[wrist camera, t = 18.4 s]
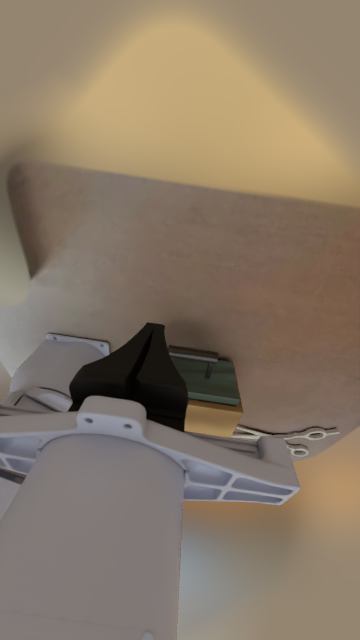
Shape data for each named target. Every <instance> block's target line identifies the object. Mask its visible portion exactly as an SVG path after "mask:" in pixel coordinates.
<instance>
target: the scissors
mask: <svg viewBox="0 0 360 640" xmlns="http://www.w3.org/2000/svg"><path fill="white" fill-rule="evenodd" d="M236 428H238V429H241V430H243V431H247V432H250V433H252V434H255V435H259V436H231V437H238V438H249V439H259V438H260V437H261V436H273V437H280V438H283V439H284V440H287V439H292V438H297V437H303V438H308V439H309V440H318V439H322V438H324V437H326V436H327V435H331V434H339V431H338V429H331V430H324V429H321V428H311V429H308V430H306V431H304V432H301V433H292V434H289V435H271V434H265V433H261V432H257V431H253V430H249V429H245V428H241V427H237V426H236ZM312 433H321V434H319V435H310V434H312ZM285 443H286V442H285ZM286 446H287V448H288V449H290V451H291V453H292V454H293V455H295V456H306V455H308V454H309V452H308V449H307V448H306V447H304V446H302V445H297V446H293V445H289V444H287V443H286ZM296 450H302V451H303V452H294V451H296Z"/></svg>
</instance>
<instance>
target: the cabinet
mask: <svg viewBox="0 0 360 640" xmlns="http://www.w3.org/2000/svg"><path fill="white" fill-rule="evenodd" d="M233 365H234V364H233ZM234 371H235V368H234ZM235 376H236V373H235ZM236 381H237V378H236ZM237 386H238V383H237ZM238 391H239V388H238ZM239 397H240V393H239ZM242 415H243V409H242V404H241V398H240V401H239V403H238V405H230V404H228V405H223V404H216V403H209V402H203V401H196V400H190V399H189V402H188V406H187V410H186V418H185V428H184V431H188V432H194V433H201V434H208V435H214V436H221V437H228V438H230V437H231V435H232V434H233V432H234V430H235V428H236V426H237V424H238V422H239V420H240V419H241V417H242Z"/></svg>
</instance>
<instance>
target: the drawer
mask: <svg viewBox="0 0 360 640" xmlns="http://www.w3.org/2000/svg"><path fill="white" fill-rule="evenodd" d="M168 352H169V355H170V357H171V359H172V362H173V364H174V365H175V367H176V369H177V371H178V372H179V374H180V375H181V377H182V378H183V379H184V381H185V382H186V386H187V390H188V397H189V398H191V399H197V400H199V401H203V402H209V403H216V404H223V405H228V404H230V405H238V403H239V401H240V397H239V391H238V386H237V381H236V376H235V371H234V365H233V362H228V361H222V360H218V353H217V352H210V351H204V350H197V349H191V348H184V347H178V346H171V345H169V348H168Z"/></svg>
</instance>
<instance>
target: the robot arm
mask: <svg viewBox="0 0 360 640" xmlns="http://www.w3.org/2000/svg"><path fill="white" fill-rule="evenodd" d="M164 329H165V326H164V325H161V324H155V323H146V325H145V326H144V327H143V328H142V329H141V330H140V331H139V332H138V333H137V334H136V335H135V336H134V337H133V338H132V339H131V340H130V341H128V342H127V343H126V344H125V345H123V346H122V347H121V348H119V349H118V350H116V351H114V352H113V353H111V354H110V347H109V343H107V342H102V341H96V340H89V339H83V338H76V337H70V336H63V335H57V334H50V333H47V334H46V335H45V338H46V341H45V342H44V343H43V344H42V345H41V346H40V347H39V348H38V349H37V350H36V351H35V352H34V353H33V354H32V355H31V356H30V357H29V358H28V359H27V360H26V361H25V362H24V363H23V364H22V365H21V366H20V367H19V368H18V369H17V371H16V372H15V374H14V376H13V378H12V380H11V383H10V387H9V394H8V395H7V397H6V398H5V399H4V400H3V401H2V402H1V403H0V468H4V469H8V470H11V471H15V472H19V473H22V474H26V475H27V476H26V478H23V477H20V476H18V475H15V474H13V473H10V472H7V471H5V470H2V469H0V640H176V638H177V620H178V600H179V599H178V598H179V579H180V558H181V539H182V519H183V500H194V501H197V500H198V501H237V502H255V503H265V504H274V505H281V504H283V503H284V502H285V501H286V500H288V499H289V498H290V497H291V496H293V495H294V494H295V493H296V492H298V491H299V490H300V489H301V487H300V485H299V481H298V478H297V475H296V472H295V469H294V467H293V463H292V460H291V457H290V455H289V452H288V449H287V446H286V443H285V440H284V439H283V438H280V437H273V436H261V437H260V438H259V439H258V441H257V442H254V441H248V440H241V439H234V438H228V437H221V436H214V435H208V434H201V433H194V432H188V431H184V428H185V418H186V410H187V406H188V402H189V397H188V390H187V386H186V382H185V381H184V379H183V378H182V377H181V375H180V374H179V372H178V371H177V369H176V367H175V365H174V364H173V362H172V359H171V357H170V355H169V352H168V349H167V345H166V341H165V335H164ZM102 344H103V345H102Z"/></svg>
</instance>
